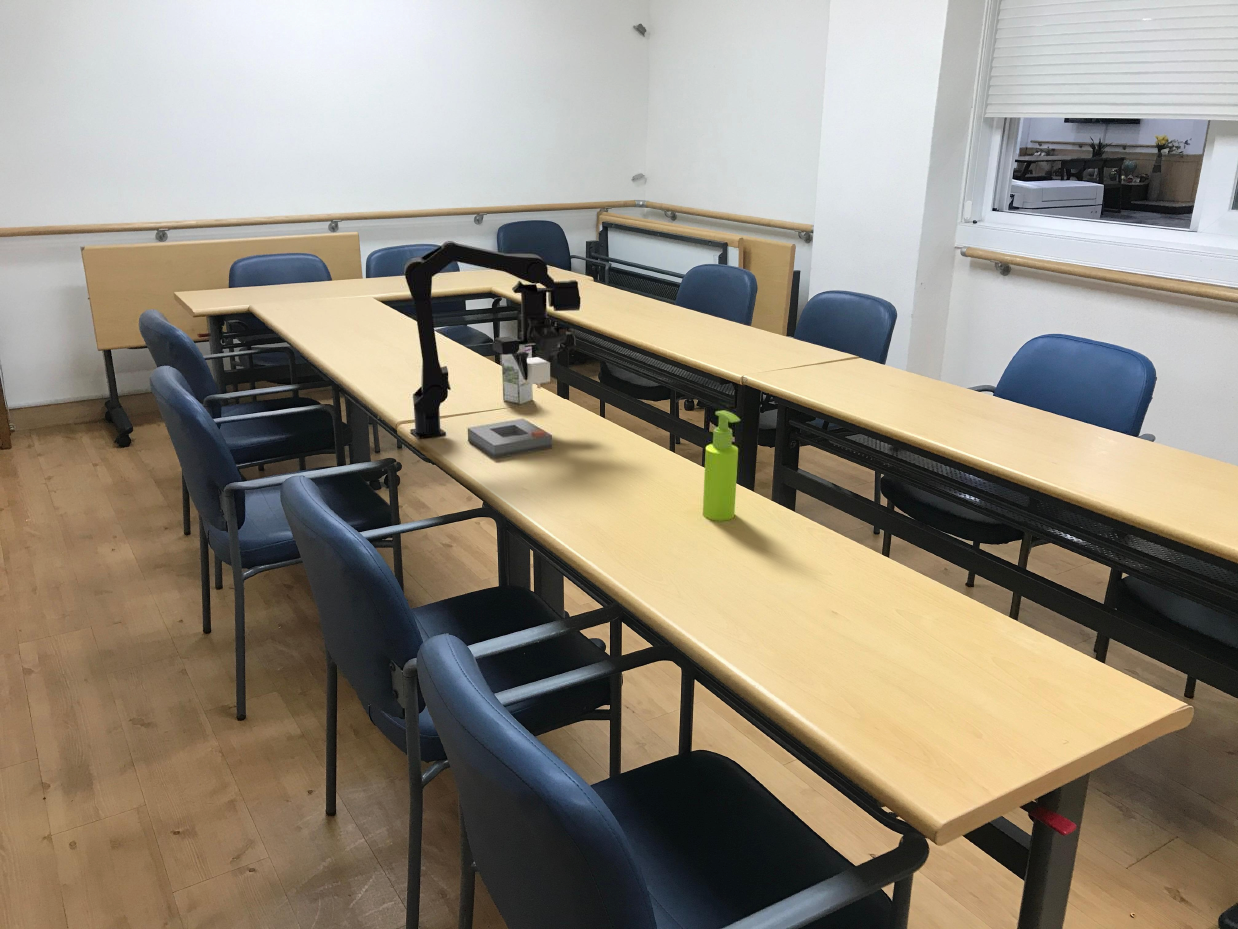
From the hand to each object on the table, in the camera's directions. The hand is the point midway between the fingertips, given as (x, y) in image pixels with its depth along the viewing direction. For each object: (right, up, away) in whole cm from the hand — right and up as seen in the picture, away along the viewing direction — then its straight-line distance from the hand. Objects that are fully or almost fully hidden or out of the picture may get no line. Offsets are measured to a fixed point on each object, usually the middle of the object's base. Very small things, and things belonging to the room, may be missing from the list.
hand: (535, 378), depth 221 cm
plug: (0, -2, +1) cm, 2 cm away
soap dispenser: (+38, -30, -44) cm, 65 cm away
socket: (-5, -15, -7) cm, 18 cm away
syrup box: (-7, -4, +25) cm, 26 cm away
